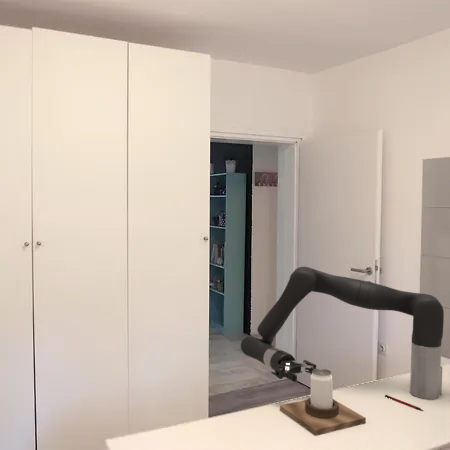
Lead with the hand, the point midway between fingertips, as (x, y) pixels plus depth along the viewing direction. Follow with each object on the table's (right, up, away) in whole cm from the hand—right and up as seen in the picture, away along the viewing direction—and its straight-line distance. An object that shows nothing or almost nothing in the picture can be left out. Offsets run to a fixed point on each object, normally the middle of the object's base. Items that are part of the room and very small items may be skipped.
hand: (307, 376), depth 154 cm
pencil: (+32, -10, +4) cm, 34 cm away
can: (+3, -9, -6) cm, 11 cm away
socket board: (+3, -10, -6) cm, 12 cm away
